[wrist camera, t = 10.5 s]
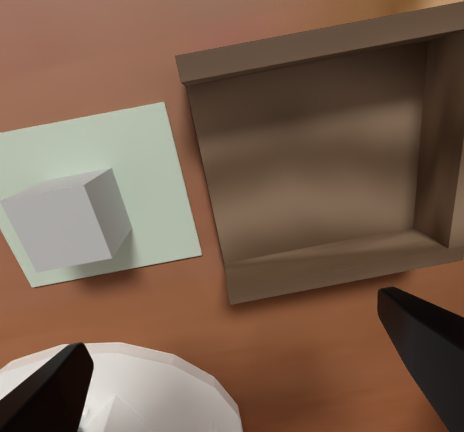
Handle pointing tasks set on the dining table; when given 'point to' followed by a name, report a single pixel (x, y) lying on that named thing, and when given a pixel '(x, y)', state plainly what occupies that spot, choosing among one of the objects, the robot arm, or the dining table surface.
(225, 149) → the walnut box
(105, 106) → the dining table surface
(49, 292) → the dining table surface
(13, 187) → the cover plate
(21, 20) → the dining table surface
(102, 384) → the dish
